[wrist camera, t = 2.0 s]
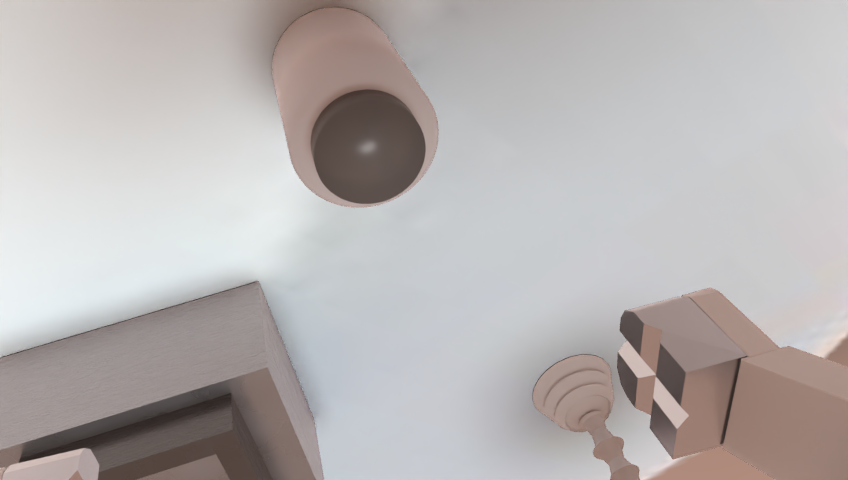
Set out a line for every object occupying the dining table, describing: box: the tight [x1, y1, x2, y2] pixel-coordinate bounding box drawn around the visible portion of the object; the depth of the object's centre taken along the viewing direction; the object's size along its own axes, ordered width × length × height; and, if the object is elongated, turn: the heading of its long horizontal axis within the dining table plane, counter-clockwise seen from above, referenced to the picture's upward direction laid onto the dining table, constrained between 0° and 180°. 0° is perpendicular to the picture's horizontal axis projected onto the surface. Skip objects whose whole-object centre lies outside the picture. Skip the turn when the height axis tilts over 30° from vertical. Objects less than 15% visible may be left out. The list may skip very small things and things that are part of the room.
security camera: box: [272, 7, 438, 207], centre depth 26 cm, size 5×5×8 cm
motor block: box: [0, 282, 324, 480], centre depth 33 cm, size 16×10×8 cm, turn 101°
